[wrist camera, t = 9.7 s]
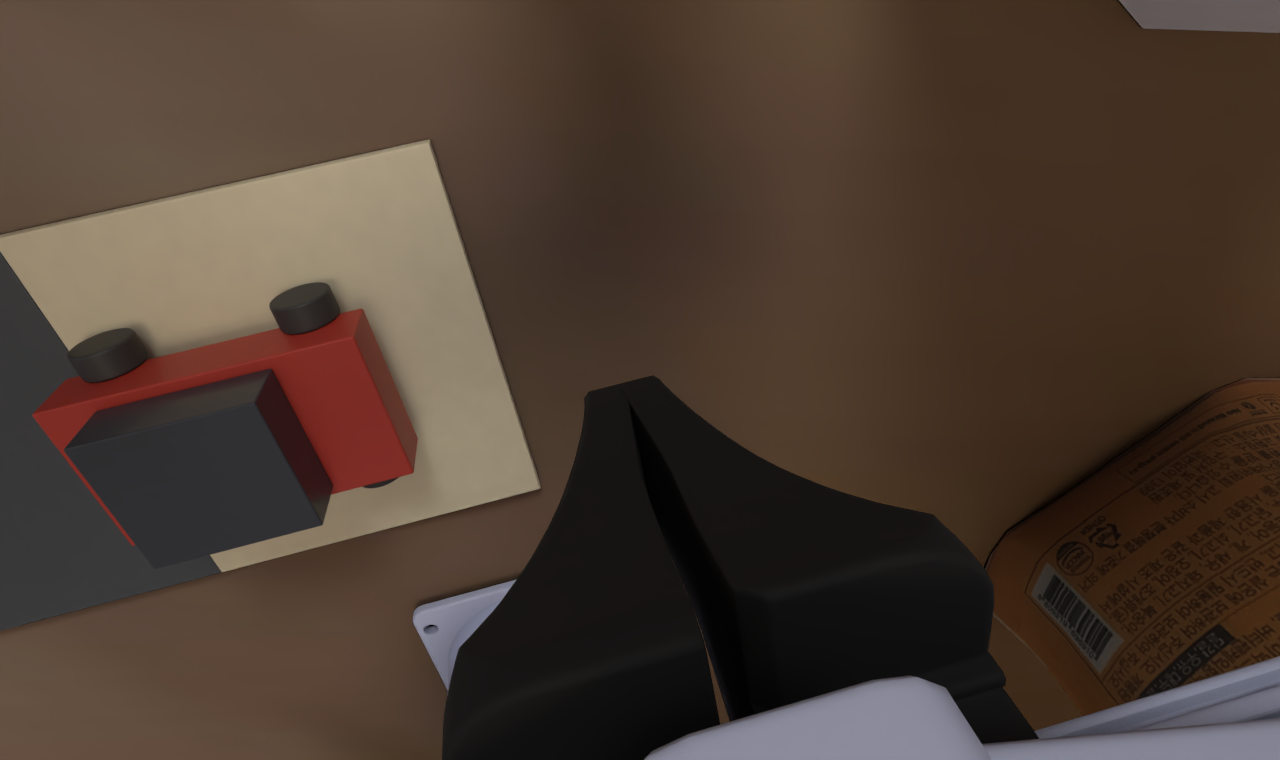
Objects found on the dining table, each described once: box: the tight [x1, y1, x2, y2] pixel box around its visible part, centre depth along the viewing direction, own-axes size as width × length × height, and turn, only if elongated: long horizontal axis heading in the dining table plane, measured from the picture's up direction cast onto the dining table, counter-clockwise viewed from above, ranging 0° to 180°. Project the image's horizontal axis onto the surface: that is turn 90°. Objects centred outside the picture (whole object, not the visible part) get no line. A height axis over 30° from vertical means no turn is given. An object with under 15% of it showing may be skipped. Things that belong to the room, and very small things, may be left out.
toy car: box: [32, 282, 418, 569], centre depth 20 cm, size 6×8×4 cm
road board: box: [0, 140, 540, 631], centre depth 21 cm, size 12×24×1 cm, turn 100°
